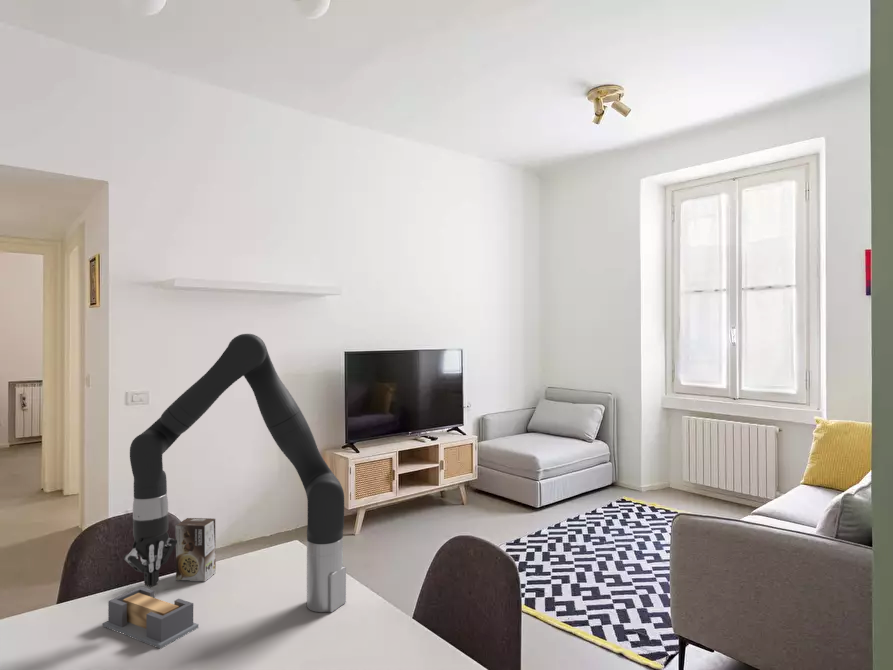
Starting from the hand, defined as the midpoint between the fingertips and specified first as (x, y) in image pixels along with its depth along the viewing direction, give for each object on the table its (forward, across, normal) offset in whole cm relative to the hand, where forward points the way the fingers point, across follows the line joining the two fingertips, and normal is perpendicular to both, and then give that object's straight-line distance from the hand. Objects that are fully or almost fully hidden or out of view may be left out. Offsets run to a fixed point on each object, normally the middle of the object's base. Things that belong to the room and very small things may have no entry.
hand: (151, 585), depth 132 cm
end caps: (+10, 0, 0) cm, 10 cm away
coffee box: (+10, +24, +14) cm, 29 cm away
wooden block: (+9, 0, 0) cm, 9 cm away
